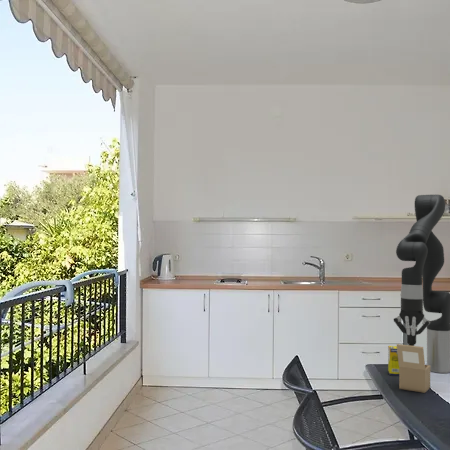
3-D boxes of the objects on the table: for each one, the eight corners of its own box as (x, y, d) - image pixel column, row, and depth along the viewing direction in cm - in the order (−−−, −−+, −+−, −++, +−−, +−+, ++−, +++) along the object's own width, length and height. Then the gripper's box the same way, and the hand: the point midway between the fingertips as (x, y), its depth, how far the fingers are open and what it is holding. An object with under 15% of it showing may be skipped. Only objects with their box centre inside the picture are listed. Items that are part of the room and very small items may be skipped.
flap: (397, 343, 188) (396, 344, 187) (423, 346, 183) (422, 348, 183) (399, 365, 191) (398, 366, 190) (425, 368, 186) (424, 369, 185)
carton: (405, 383, 198) (405, 362, 198) (430, 387, 193) (430, 365, 193) (399, 388, 190) (399, 366, 191) (425, 392, 186) (425, 370, 186)
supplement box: (405, 376, 208) (405, 349, 209) (389, 375, 210) (389, 348, 210) (403, 373, 214) (403, 346, 215) (387, 372, 215) (388, 345, 216)
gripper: (433, 297, 188) (433, 346, 187) (395, 295, 195) (395, 341, 194) (428, 299, 181) (428, 349, 181) (390, 296, 189) (390, 345, 188)
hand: (411, 345), depth 188 cm, fingers closed
